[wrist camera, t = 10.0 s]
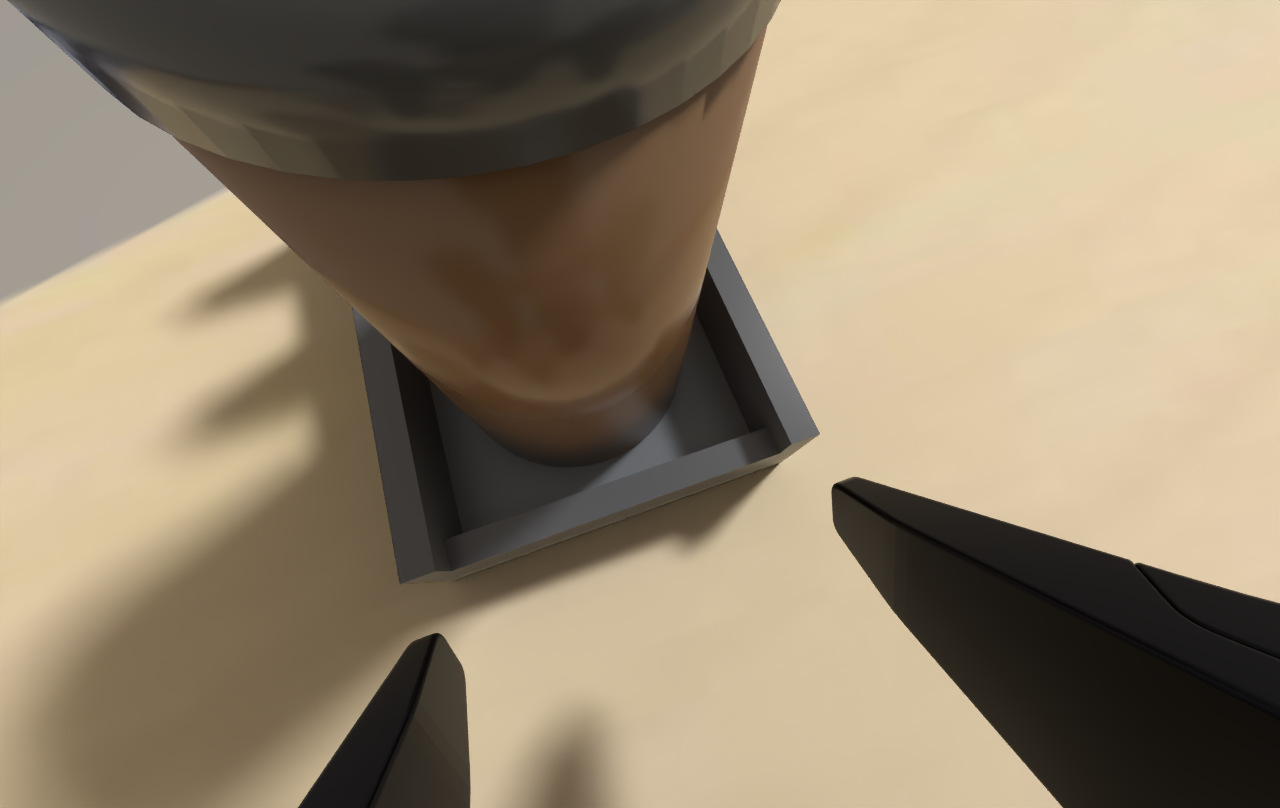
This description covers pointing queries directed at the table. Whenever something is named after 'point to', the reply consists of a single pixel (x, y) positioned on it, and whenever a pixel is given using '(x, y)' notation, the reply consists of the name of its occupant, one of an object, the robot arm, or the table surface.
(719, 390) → the tray
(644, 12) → the jar
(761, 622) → the table surface
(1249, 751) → the robot arm
